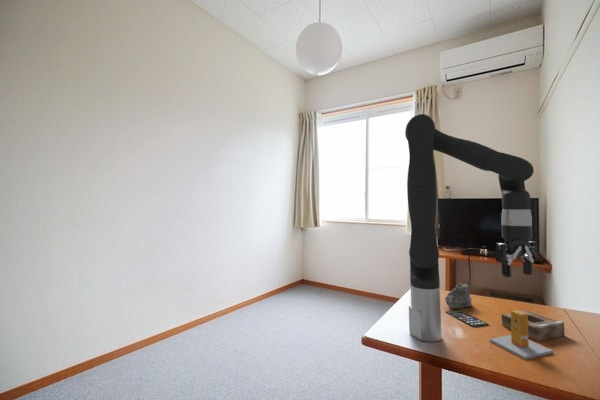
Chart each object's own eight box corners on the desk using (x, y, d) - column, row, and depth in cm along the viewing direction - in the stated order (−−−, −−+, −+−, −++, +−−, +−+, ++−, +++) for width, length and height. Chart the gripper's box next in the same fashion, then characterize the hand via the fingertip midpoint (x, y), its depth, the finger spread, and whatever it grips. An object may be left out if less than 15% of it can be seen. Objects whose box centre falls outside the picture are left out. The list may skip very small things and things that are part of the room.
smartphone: (459, 309, 116) (490, 324, 101) (460, 311, 116) (490, 326, 101) (444, 311, 114) (472, 326, 100) (444, 312, 114) (473, 328, 100)
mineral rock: (448, 310, 115) (447, 286, 115) (437, 301, 126) (436, 279, 126) (480, 311, 114) (479, 286, 114) (466, 301, 125) (465, 279, 125)
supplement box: (530, 346, 84) (529, 313, 84) (520, 347, 84) (519, 314, 84) (520, 341, 88) (518, 309, 88) (510, 342, 87) (509, 310, 87)
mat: (525, 359, 79) (524, 356, 79) (489, 341, 90) (489, 338, 90) (552, 353, 82) (552, 350, 82) (515, 336, 93) (515, 333, 93)
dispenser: (537, 341, 89) (537, 326, 89) (502, 325, 101) (501, 312, 101) (564, 335, 92) (564, 321, 92) (526, 320, 104) (526, 308, 104)
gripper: (510, 225, 81) (511, 280, 81) (546, 223, 84) (547, 276, 84) (487, 223, 88) (488, 274, 88) (521, 222, 92) (522, 270, 92)
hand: (517, 275), depth 86 cm, fingers open, 8 cm apart
